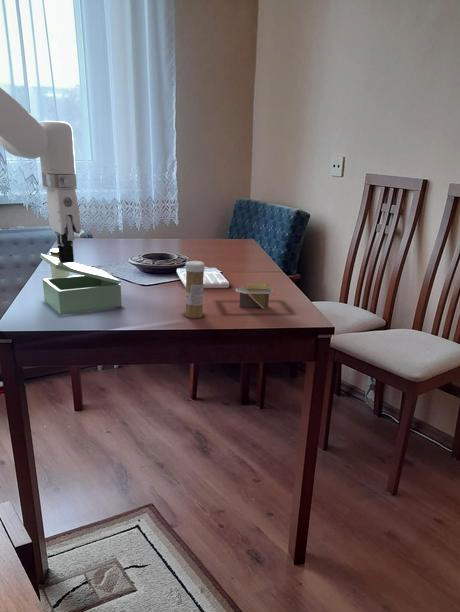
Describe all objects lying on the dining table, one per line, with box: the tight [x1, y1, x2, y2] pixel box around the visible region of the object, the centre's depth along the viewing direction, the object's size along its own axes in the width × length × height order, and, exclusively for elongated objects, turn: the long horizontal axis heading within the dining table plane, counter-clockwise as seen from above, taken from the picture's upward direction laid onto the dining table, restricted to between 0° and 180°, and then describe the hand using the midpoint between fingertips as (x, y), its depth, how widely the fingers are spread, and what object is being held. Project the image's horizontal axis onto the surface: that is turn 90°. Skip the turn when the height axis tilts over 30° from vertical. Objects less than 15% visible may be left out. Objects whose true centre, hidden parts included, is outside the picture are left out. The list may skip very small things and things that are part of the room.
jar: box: [48, 248, 71, 278], centre depth 153 cm, size 5×5×11 cm
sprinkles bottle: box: [184, 260, 205, 319], centre depth 137 cm, size 5×5×14 cm
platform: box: [235, 282, 274, 310], centre depth 147 cm, size 12×18×7 cm, turn 100°
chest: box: [42, 274, 123, 315], centre depth 141 cm, size 16×13×6 cm
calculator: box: [176, 267, 230, 289], centre depth 171 cm, size 13×20×2 cm, turn 13°
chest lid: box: [39, 253, 122, 285], centre depth 138 cm, size 17×13×1 cm
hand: (66, 261), depth 136 cm, fingers closed
